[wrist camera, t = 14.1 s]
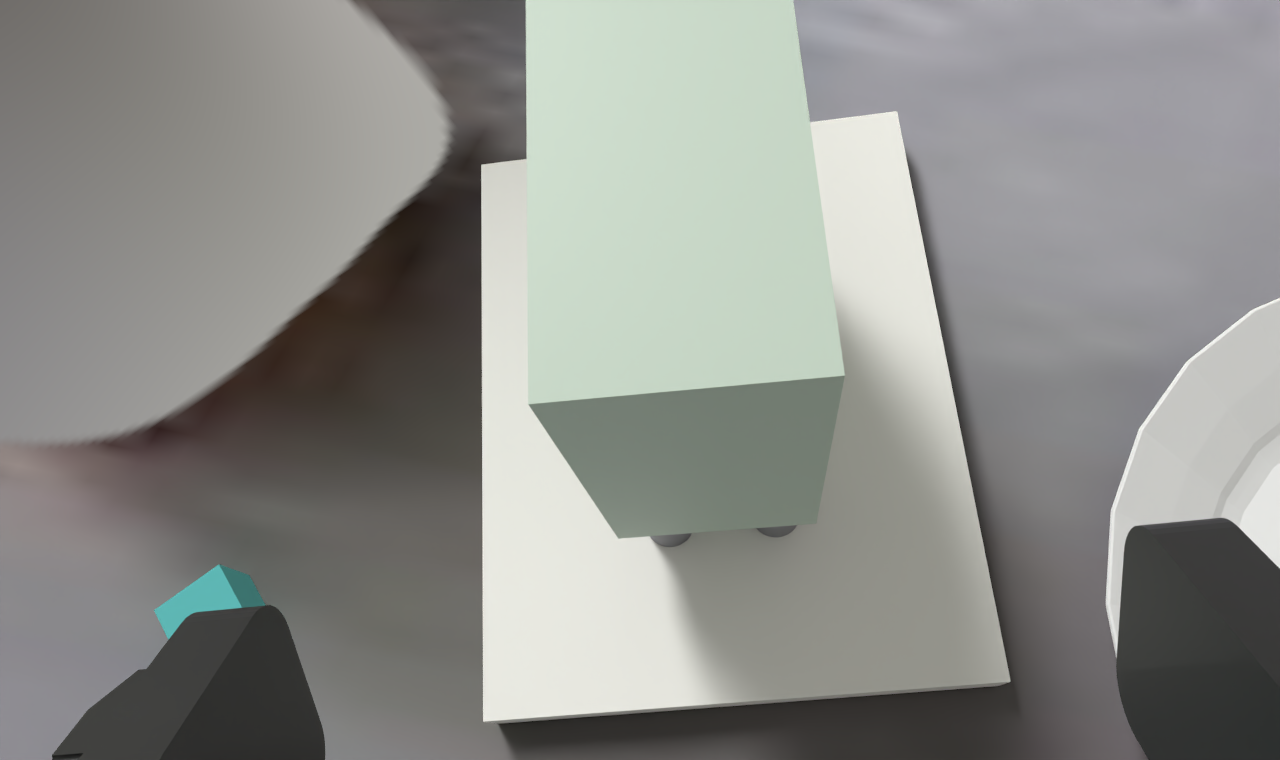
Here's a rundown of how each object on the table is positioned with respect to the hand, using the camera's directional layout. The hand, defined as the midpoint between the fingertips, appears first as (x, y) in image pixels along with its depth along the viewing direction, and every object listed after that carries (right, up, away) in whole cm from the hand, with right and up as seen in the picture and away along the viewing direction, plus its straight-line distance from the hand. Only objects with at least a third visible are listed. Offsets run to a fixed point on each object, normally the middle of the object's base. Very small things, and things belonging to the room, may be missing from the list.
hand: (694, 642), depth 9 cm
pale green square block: (+1, +3, +17) cm, 17 cm away
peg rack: (+2, +2, +21) cm, 21 cm away
